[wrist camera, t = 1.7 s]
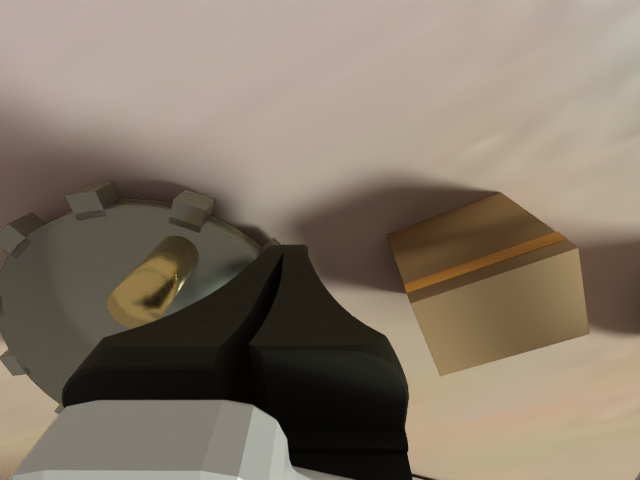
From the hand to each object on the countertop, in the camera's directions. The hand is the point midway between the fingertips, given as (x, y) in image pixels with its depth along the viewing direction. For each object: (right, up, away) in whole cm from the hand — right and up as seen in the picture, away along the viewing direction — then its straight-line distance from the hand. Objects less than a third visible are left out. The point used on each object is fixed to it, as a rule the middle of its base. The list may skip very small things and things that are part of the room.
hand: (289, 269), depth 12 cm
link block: (+7, +1, +3) cm, 8 cm away
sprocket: (-6, -3, +5) cm, 9 cm away
